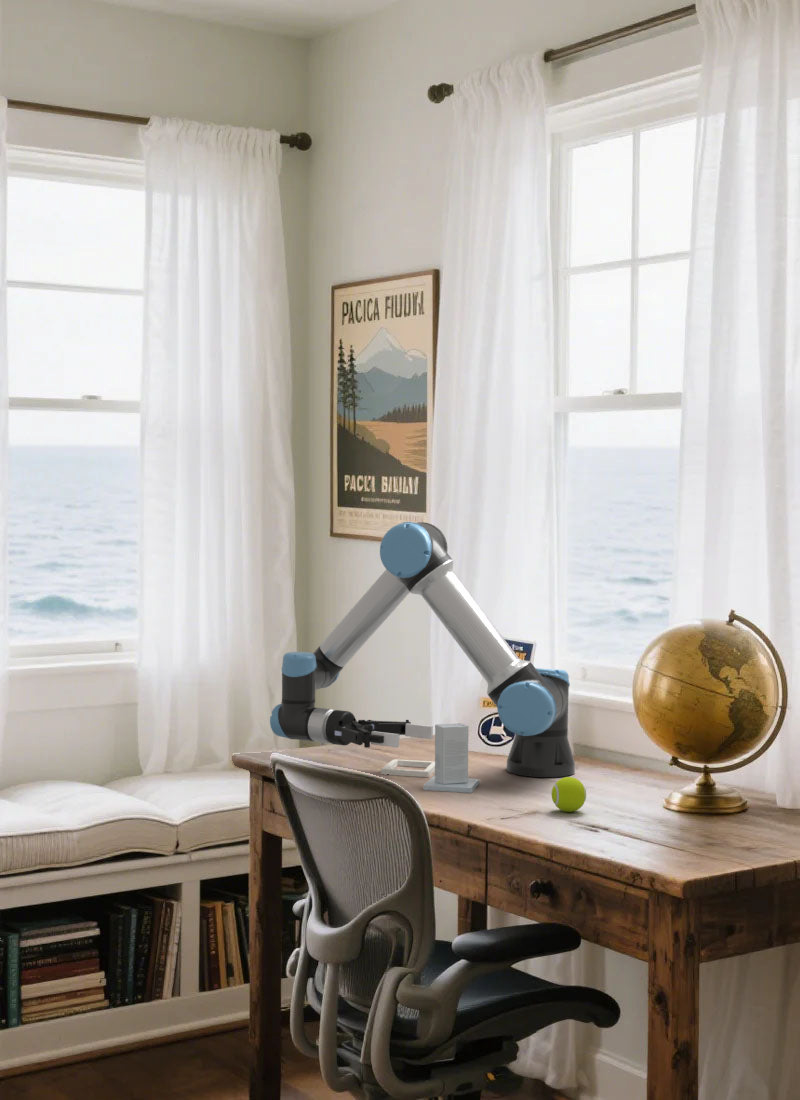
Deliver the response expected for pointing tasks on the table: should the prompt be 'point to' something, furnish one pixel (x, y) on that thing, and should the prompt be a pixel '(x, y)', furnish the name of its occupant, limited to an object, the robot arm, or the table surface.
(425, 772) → the grey base tray
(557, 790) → the tennis ball
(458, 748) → the skincare box
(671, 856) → the table surface
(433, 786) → the coaster
